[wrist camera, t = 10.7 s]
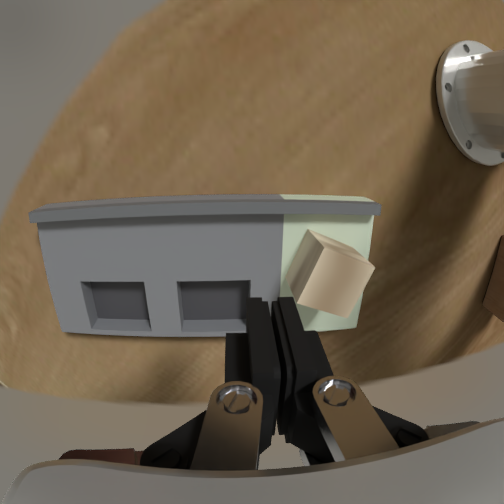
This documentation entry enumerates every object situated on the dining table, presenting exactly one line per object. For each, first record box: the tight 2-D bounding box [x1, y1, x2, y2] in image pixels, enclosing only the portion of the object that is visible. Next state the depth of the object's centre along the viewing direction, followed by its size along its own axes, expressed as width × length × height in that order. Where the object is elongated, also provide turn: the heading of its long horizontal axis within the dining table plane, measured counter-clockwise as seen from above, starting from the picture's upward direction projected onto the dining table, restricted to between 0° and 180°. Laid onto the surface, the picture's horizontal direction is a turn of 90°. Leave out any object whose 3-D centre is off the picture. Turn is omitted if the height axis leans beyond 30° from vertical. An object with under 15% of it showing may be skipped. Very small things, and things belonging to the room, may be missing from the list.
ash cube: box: [285, 229, 375, 318], centre depth 21 cm, size 4×4×4 cm
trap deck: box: [29, 194, 381, 337], centre depth 23 cm, size 26×11×3 cm, turn 89°
